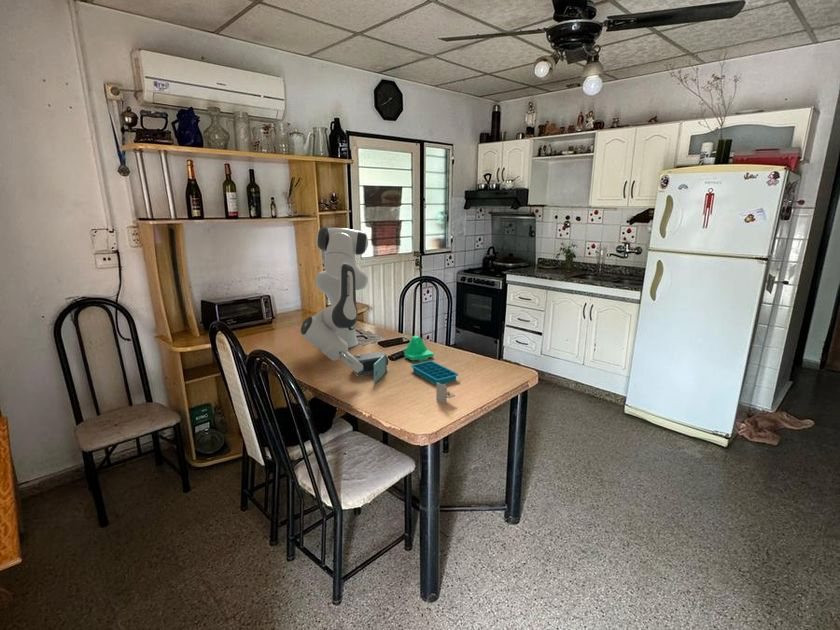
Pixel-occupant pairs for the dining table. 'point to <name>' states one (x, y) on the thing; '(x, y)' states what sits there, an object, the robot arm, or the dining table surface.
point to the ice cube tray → (434, 372)
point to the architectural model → (443, 393)
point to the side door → (379, 368)
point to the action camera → (369, 362)
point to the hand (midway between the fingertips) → (361, 368)
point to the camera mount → (417, 350)
